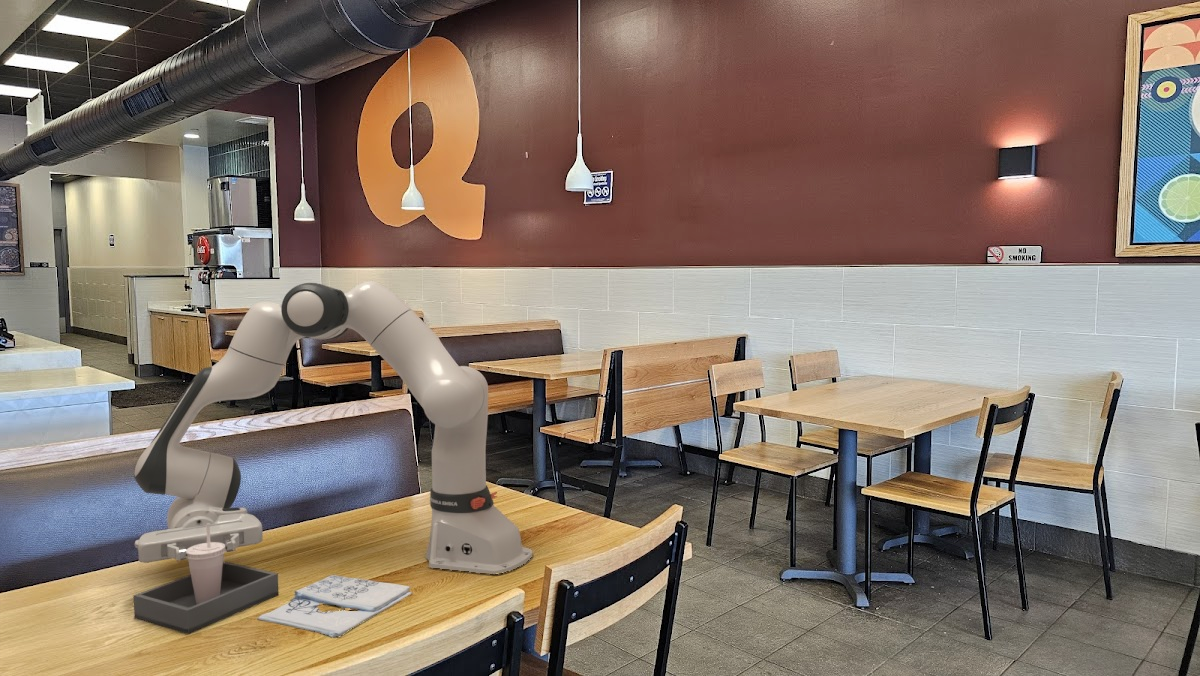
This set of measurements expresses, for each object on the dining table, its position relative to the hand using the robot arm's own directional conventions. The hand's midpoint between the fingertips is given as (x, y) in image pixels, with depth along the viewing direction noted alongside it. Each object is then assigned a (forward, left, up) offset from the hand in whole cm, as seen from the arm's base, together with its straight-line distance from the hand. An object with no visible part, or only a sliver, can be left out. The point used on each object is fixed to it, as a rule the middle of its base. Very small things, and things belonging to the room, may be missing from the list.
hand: (206, 551), depth 137 cm
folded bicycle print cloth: (-19, -10, -11) cm, 25 cm away
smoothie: (+1, -1, -10) cm, 10 cm away
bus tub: (+1, -1, -10) cm, 10 cm away
